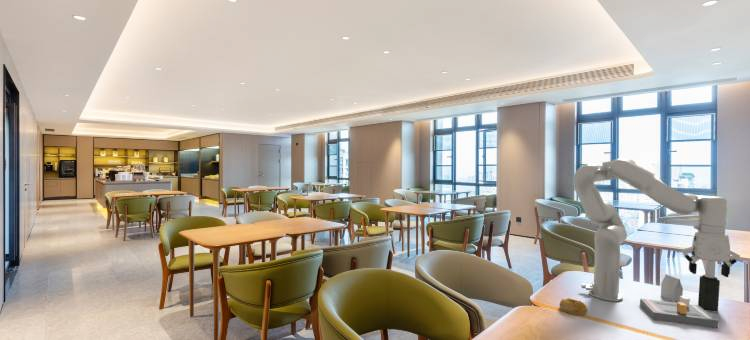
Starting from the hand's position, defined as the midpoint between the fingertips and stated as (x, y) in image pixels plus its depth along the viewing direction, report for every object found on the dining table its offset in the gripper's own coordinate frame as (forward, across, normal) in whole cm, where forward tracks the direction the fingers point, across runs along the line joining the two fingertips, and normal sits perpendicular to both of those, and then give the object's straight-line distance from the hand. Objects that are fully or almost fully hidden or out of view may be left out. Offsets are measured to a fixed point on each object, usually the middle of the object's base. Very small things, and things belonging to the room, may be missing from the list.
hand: (708, 274), depth 138 cm
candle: (+19, +8, +17) cm, 27 cm away
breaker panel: (+19, -8, +3) cm, 21 cm away
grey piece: (+19, -2, +24) cm, 30 cm away
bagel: (+19, -46, -5) cm, 50 cm away
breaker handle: (+15, -8, -1) cm, 17 cm away
